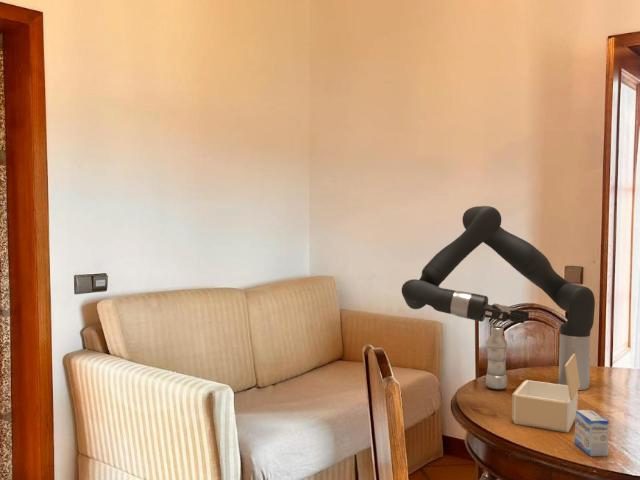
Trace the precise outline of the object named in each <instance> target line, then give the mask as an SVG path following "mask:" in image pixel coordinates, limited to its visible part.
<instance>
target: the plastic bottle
mask: <svg viewBox="0 0 640 480" xmlns="http://www.w3.org/2000/svg"><path fill="white" fill-rule="evenodd" d="M490 330H491V331H490V333H491V334H490V336H488V338H487V340H486V344H485V345H486V353H487V369H486V376H485V384H486V386H487V387H488V388H489V389H494V390H503V389H506V388H507V385H508V377H507V371H506V370H507V367H506V359H507V351H508V342H507V339H506V338H505V336H504V326H500V325H493V326H491V328H490Z"/></svg>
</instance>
